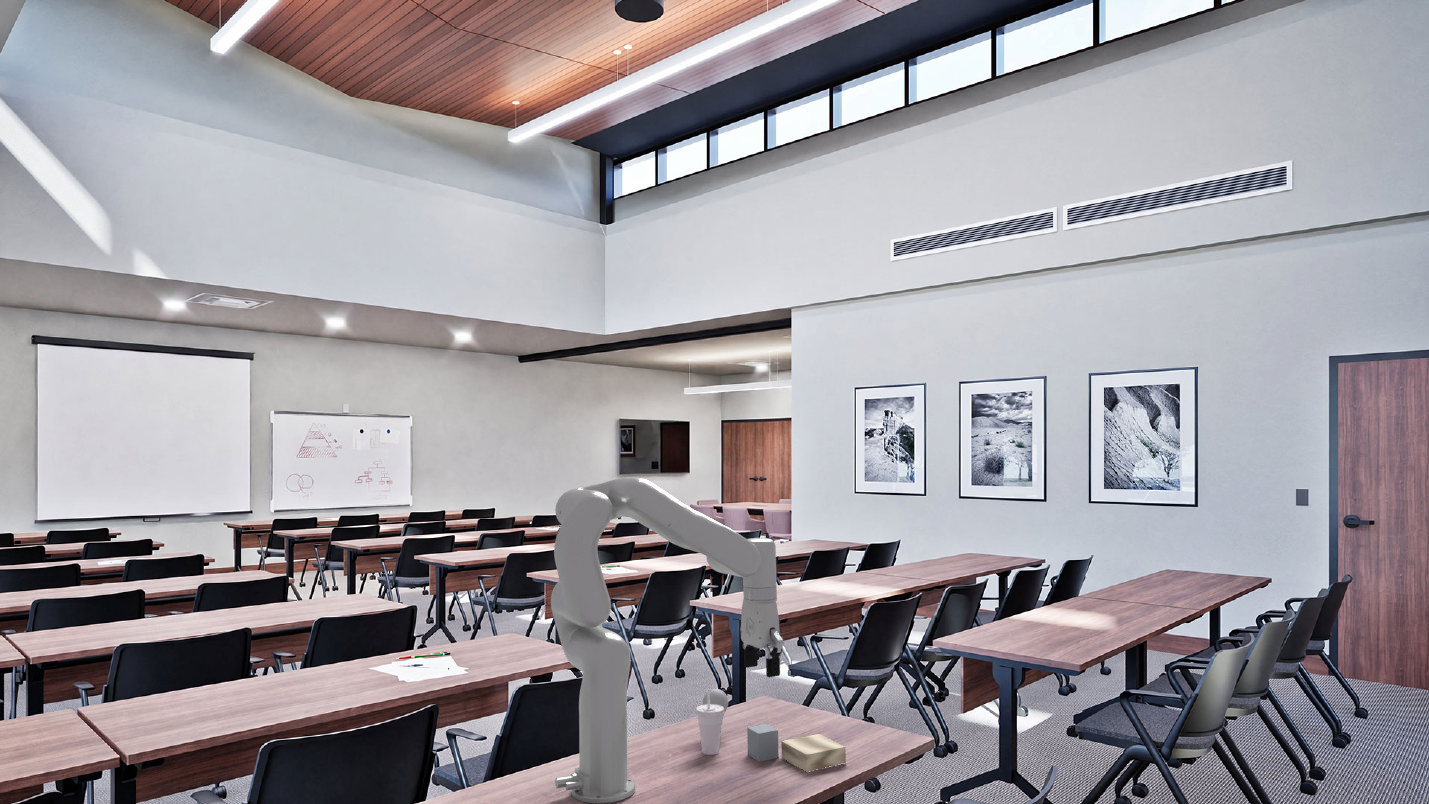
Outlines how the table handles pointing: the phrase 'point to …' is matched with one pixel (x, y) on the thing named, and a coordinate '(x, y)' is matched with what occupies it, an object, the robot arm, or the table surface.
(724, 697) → the lightbulb
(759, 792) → the table surface
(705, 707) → the smoothie
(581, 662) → the robot arm
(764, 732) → the grey block
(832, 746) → the maple block
